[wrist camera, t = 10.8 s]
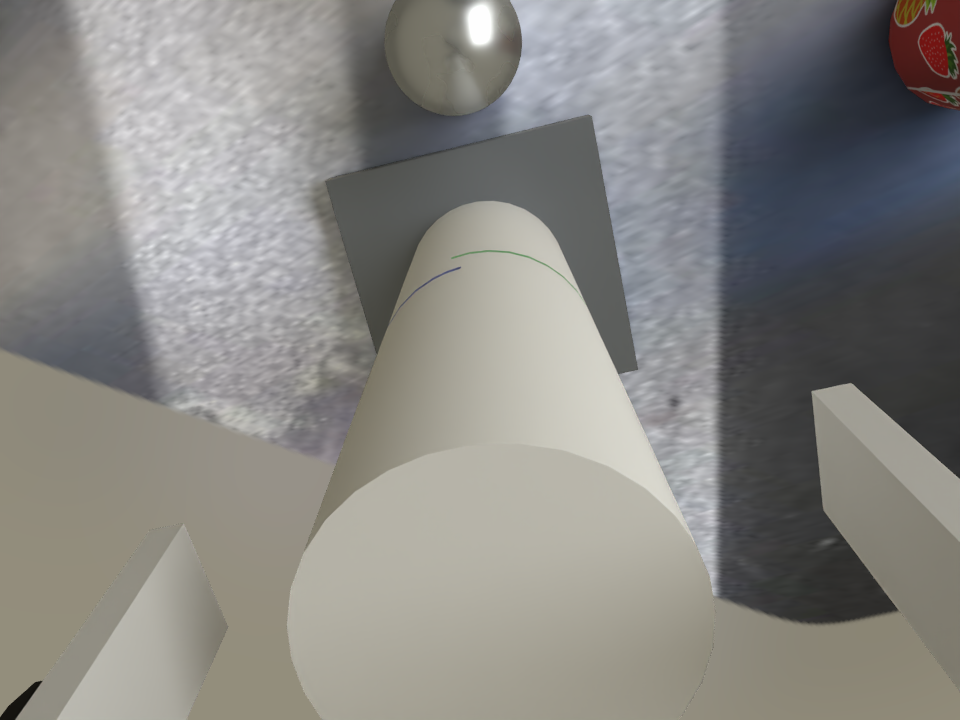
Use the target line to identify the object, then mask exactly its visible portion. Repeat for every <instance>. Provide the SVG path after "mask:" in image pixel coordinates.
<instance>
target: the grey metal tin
mask: <svg viewBox="0 0 960 720" xmlns="http://www.w3.org/2000/svg"><path fill="white" fill-rule="evenodd" d="M384 43H385V54H386V59H387V63H388V66H389V69H390V71H391V73H392V76H393V78H394V80H395V81H396V83H397V84H398V86H399V87H400V89H401V90H402V91H403V92H404V93H405V94H406V95H407V96H408V97H409V98H410V99H411V100H412V101H413V102H415V103H416V104H417V105H419V106H421V107H423V108H424V109H426V110H429V111H431V112H434V113H438V114H442V115H450V116H457V115H466V114H470V113H473V112H477V111H479V110H481V109H483V108H485V107H487V106H488V105H490V104H491V103H493V102H494V101H495V100H496V99H498V98H499V97H500V96H501V95H502V94H503V92H504V91H505V90H506V89H507V87H508V86H509V85H510V83H511V81H512V79H513V77H514V76H515V73H516V71H517V68H518V65H519V61H520V57H521V48H522V36H521V29H520V24H519V21H518V17H517V15H516V12H515V10H514V8H513V6H512V4H511V2H510V0H396V1H395V3H394V4H393V7H392V9H391V11H390V13H389V16H388V20H387V23H386V29H385V40H384Z"/></svg>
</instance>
